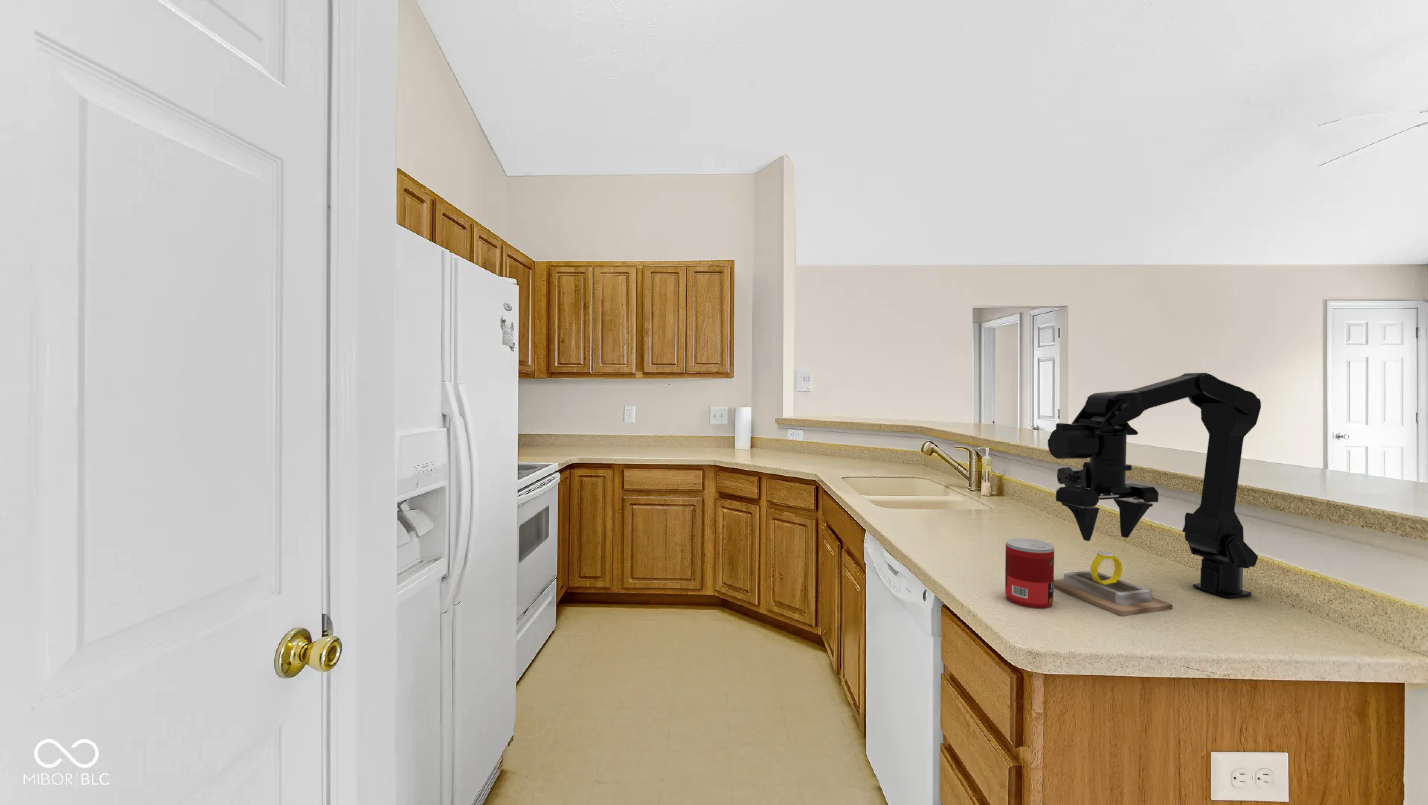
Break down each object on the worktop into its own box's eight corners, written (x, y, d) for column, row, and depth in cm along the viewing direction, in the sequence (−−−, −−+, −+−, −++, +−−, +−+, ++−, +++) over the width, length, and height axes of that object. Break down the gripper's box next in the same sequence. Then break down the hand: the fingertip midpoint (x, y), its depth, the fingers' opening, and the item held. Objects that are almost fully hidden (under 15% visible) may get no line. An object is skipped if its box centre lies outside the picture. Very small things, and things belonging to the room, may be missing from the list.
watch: (1112, 579, 110) (1112, 549, 109) (1125, 584, 107) (1125, 553, 107) (1087, 582, 108) (1087, 552, 108) (1099, 587, 106) (1099, 556, 105)
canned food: (1060, 610, 101) (1061, 550, 101) (1012, 607, 103) (1013, 548, 102) (1044, 594, 109) (1044, 538, 108) (999, 591, 110) (1000, 536, 110)
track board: (1093, 579, 117) (1093, 566, 117) (1172, 608, 102) (1172, 593, 101) (1046, 584, 114) (1046, 571, 114) (1120, 616, 99) (1120, 600, 98)
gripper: (1107, 451, 117) (1105, 525, 117) (1033, 454, 112) (1032, 531, 113) (1161, 458, 106) (1159, 539, 107) (1082, 462, 102) (1080, 547, 102)
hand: (1105, 538), depth 107 cm, fingers open, 9 cm apart
